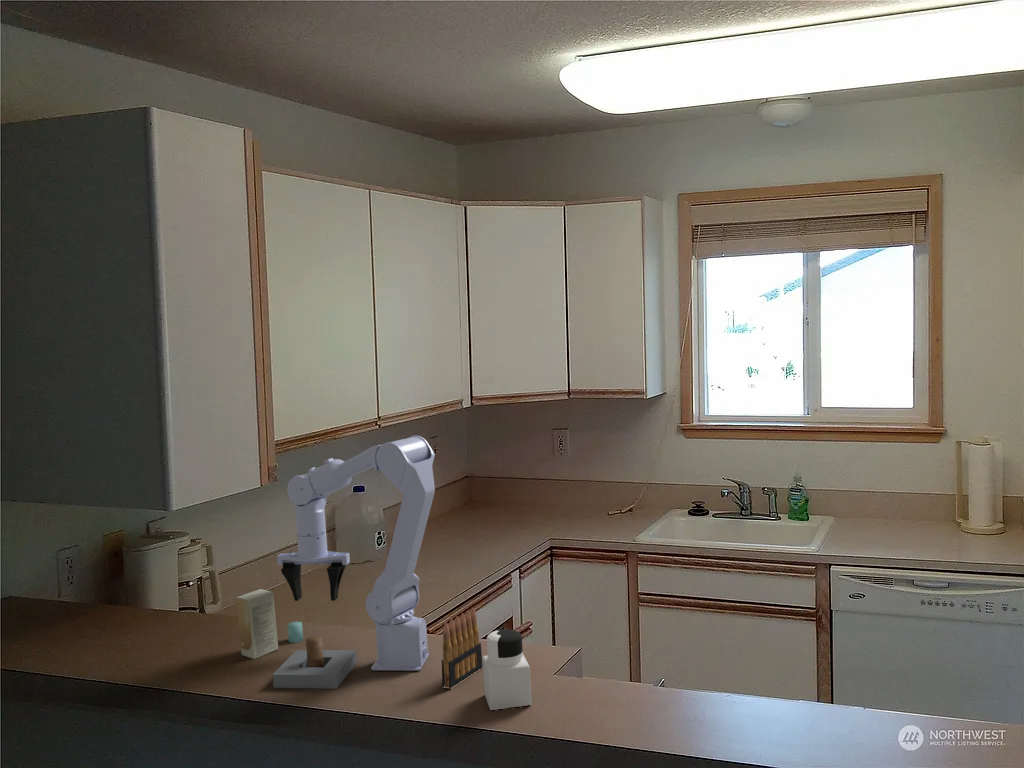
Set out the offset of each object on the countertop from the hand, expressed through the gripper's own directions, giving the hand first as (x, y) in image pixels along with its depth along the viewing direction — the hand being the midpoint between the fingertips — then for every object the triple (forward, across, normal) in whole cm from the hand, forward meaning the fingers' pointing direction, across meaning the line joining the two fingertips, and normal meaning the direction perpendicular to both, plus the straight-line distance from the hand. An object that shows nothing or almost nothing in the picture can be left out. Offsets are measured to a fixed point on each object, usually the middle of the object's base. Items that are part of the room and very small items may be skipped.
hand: (316, 599), depth 192 cm
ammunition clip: (+11, -32, +14) cm, 37 cm away
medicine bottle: (+11, -42, +23) cm, 49 cm away
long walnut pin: (+10, -4, +13) cm, 17 cm away
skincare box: (+11, +12, +2) cm, 16 cm away
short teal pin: (+10, +7, -5) cm, 14 cm away
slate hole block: (+10, -4, +13) cm, 17 cm away
